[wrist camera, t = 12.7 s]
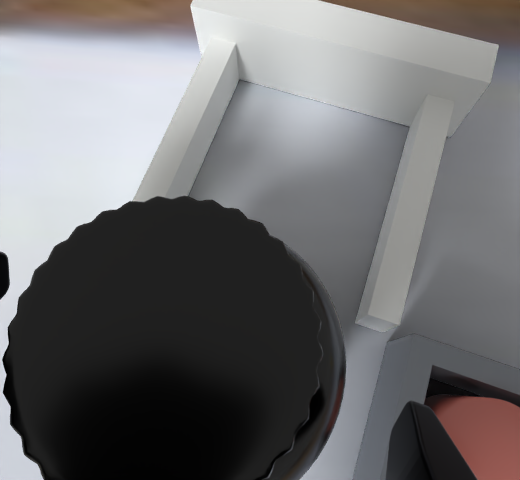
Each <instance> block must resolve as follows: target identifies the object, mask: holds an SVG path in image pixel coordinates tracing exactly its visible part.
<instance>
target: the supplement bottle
mask: <svg viewBox="0 0 520 480" xmlns="http://www.w3.org/2000/svg"><path fill="white" fill-rule="evenodd" d="M8 339H9V345H8V347H7V349H6V351H5V353H4V356H3V359H2V361H3V365H4V368H5V371H6V374H7V376H6V379H5V383H4V389H3V394H4V396H5V398H6V400H7V401H8V403H9V405H10V406H11V414H10V425H11V426H12V427H13V429H14V430H15V431H16V432H17V433H18V434H19V435H20V436H21V439H22V447H23V452H24V455H25V456H26V457H28V458H29V459H30V460H32V461H33V462H35V463H37V464H38V466H39V468H40V471H41V475H42V477H43V479H44V480H300V479H301V477H302V476H303V475H304V474H305V473H306V472H307V471H308V470H309V468H310V467H311V466H312V464H313V463H314V462H315V460H316V459H317V458H318V456H319V455H320V453H321V451H322V450H323V448H324V446H325V445H326V443H327V441H328V439H329V437H330V435H331V432H332V430H333V428H334V425H335V423H336V420H337V417H338V414H339V411H340V407H341V403H342V399H343V393H344V387H345V377H346V352H345V345H344V337H343V333H342V329H341V324H340V321H339V318H338V315H337V312H336V309H335V307H334V305H333V302H332V300H331V298H330V296H329V294H328V292H327V290H326V289H325V287H324V285H323V284H322V282H321V281H320V279H319V278H318V276H317V275H316V273H315V272H314V271H313V270H312V269H311V267H310V266H309V265H308V264H307V263H306V262H305V261H304V260H303V259H302V258H301V257H300V256H299V255H298V254H297V253H296V252H295V251H293V250H292V249H291V248H290V247H288V246H287V245H286V244H284V243H283V242H282V241H280V240H279V239H277V238H275V237H273V236H271V235H270V234H269V233H268V231H267V230H266V228H265V226H264V225H263V224H262V223H260V222H257V221H254V220H250V219H248V218H247V217H246V216H245V215H244V214H243V213H242V212H241V211H240V210H239V209H234V208H224V207H222V206H221V205H220V204H218V203H217V202H215V201H214V200H203V201H197V200H195V199H193V198H191V197H188V196H180V197H177V198H174V199H169V198H165V197H160V196H156V197H154V198H151V199H149V200H147V201H145V202H138V201H129V202H128V203H126V204H124V205H123V206H122V207H121V208H119V209H117V210H108V211H103V212H101V213H100V214H99V215H98V216H97V217H96V218H95V219H94V220H93V221H92V222H90V223H87V224H83V225H80V226H78V227H77V228H76V229H75V230H74V231H73V232H72V234H71V235H70V237H69V238H68V239H67V240H66V241H64V242H61V243H59V244H58V245H56V246H55V247H54V248H53V250H52V252H51V254H50V256H49V258H48V260H47V261H46V262H44V263H43V264H42V265H40V266H39V267H38V268H37V269H36V270H35V271H34V274H33V277H32V280H31V284H30V286H29V287H28V288H27V289H26V290H25V291H24V292H23V293H22V294H21V296H20V297H19V300H18V307H17V314H16V316H15V317H14V319H13V320H12V321H11V323H10V325H9V326H8Z"/></svg>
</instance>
